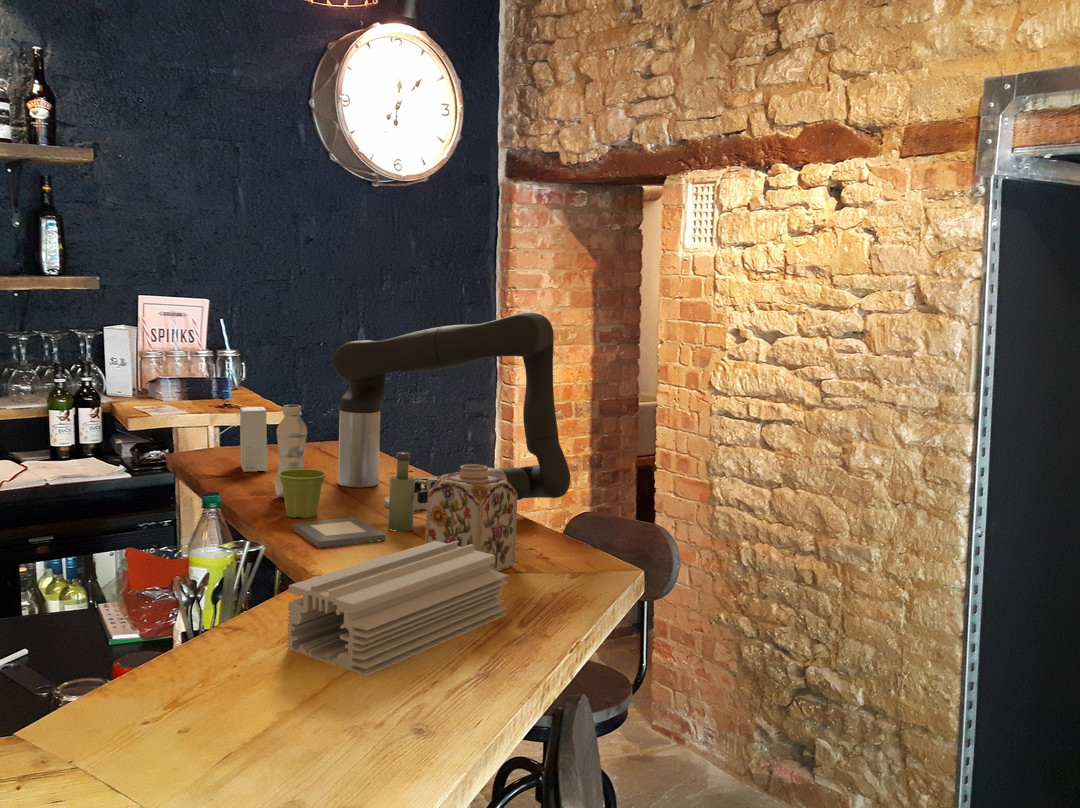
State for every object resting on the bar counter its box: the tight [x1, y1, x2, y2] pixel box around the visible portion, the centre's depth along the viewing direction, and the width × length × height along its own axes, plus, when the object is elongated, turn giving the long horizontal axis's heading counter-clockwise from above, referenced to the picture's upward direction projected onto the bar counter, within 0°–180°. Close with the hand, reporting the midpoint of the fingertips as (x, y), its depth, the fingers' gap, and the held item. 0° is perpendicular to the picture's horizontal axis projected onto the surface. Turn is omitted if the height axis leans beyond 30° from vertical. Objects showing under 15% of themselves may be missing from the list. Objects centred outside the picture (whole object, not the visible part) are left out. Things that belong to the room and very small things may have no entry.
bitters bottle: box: [388, 451, 416, 532], centre depth 204 cm, size 5×5×15 cm
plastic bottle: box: [274, 404, 308, 499], centre depth 224 cm, size 6×7×20 cm
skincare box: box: [239, 406, 268, 473], centre depth 252 cm, size 8×6×15 cm
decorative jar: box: [424, 463, 518, 572], centre depth 180 cm, size 12×12×18 cm
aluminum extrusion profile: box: [287, 541, 509, 677], centre depth 149 cm, size 14×31×10 cm, turn 146°
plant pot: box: [278, 468, 327, 519], centre depth 211 cm, size 9×9×9 cm
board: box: [291, 516, 386, 549], centre depth 198 cm, size 14×13×1 cm
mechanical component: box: [384, 484, 427, 511], centre depth 224 cm, size 10×4×10 cm
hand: (408, 493), depth 205 cm, fingers open, 8 cm apart
